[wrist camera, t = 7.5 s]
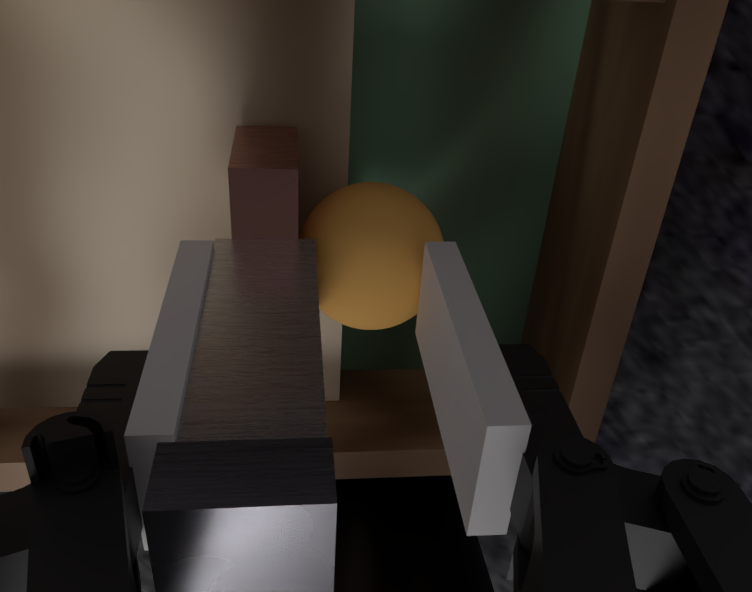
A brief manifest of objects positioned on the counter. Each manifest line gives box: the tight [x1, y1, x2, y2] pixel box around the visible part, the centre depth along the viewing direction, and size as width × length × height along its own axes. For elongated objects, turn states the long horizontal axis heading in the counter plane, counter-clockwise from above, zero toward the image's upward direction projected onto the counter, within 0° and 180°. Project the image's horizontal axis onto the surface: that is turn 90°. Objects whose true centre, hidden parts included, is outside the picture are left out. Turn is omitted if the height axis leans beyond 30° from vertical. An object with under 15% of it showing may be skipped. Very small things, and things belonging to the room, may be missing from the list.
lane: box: [0, 0, 729, 492], centre depth 20 cm, size 28×16×5 cm, turn 87°
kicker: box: [142, 125, 337, 592], centre depth 15 cm, size 2×6×12 cm, turn 177°
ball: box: [299, 182, 444, 330], centre depth 19 cm, size 4×4×4 cm
